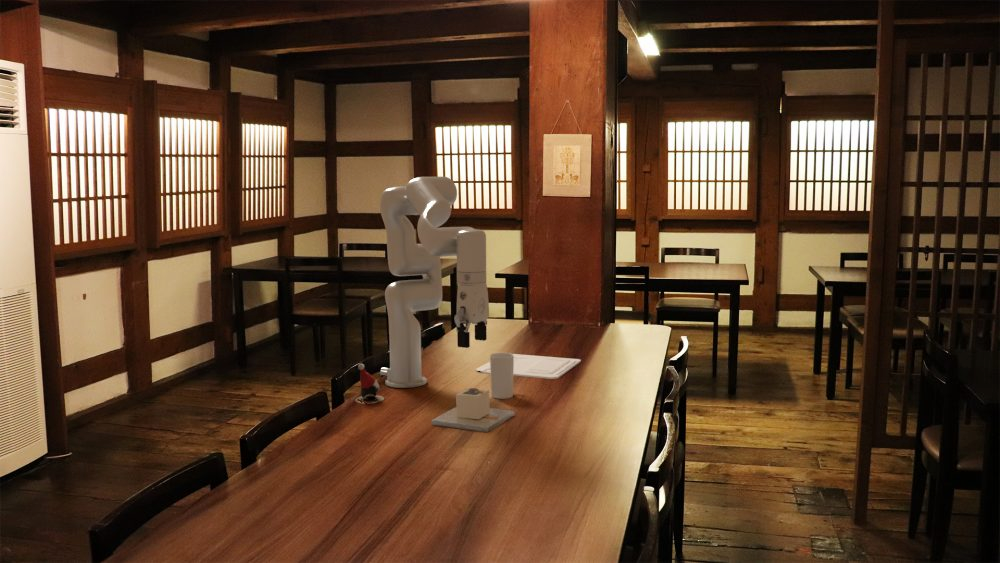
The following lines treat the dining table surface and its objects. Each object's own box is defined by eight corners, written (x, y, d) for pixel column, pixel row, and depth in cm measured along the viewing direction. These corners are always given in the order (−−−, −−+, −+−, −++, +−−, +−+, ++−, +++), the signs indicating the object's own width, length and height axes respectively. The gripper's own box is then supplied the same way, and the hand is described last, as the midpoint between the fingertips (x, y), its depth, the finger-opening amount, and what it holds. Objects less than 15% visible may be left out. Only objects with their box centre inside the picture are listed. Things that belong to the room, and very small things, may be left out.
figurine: (395, 382, 247) (375, 363, 238) (384, 414, 243) (364, 396, 233) (371, 380, 251) (351, 361, 241) (360, 411, 246) (339, 393, 237)
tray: (473, 373, 275) (473, 369, 275) (505, 356, 301) (505, 351, 301) (556, 381, 265) (556, 376, 265) (582, 362, 291) (582, 357, 290)
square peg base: (431, 424, 219) (431, 393, 218) (460, 408, 233) (459, 379, 232) (487, 432, 212) (487, 400, 211) (513, 415, 227) (513, 385, 226)
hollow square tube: (456, 417, 221) (455, 393, 220) (468, 410, 227) (467, 387, 226) (478, 419, 218) (478, 395, 218) (489, 412, 224) (488, 389, 223)
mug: (508, 400, 242) (508, 358, 240) (486, 397, 244) (486, 356, 243) (521, 391, 251) (521, 351, 249) (500, 389, 253) (499, 349, 252)
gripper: (469, 282, 209) (470, 351, 211) (499, 274, 224) (499, 338, 227) (442, 281, 212) (443, 348, 214) (473, 273, 227) (474, 336, 230)
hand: (472, 343), depth 220 cm, fingers open, 9 cm apart
